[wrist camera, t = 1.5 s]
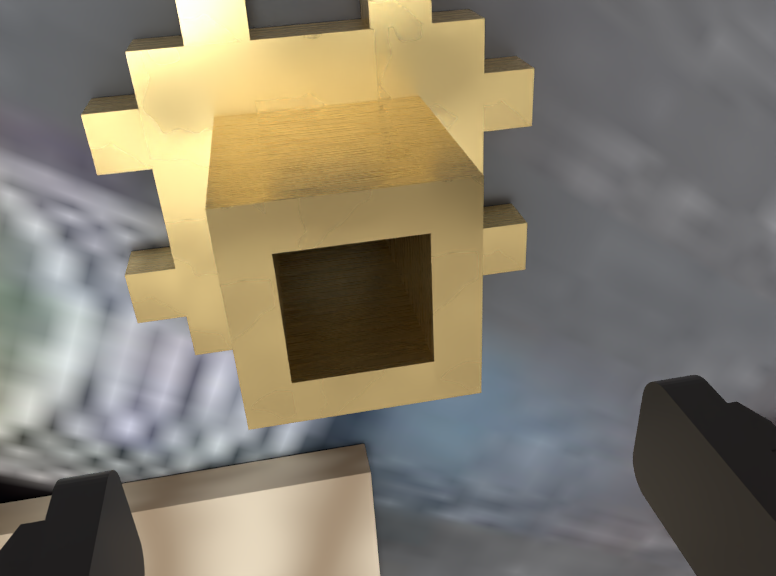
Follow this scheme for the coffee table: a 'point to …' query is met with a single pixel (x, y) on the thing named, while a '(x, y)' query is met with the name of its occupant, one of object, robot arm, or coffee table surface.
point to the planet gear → (321, 198)
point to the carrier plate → (249, 518)
